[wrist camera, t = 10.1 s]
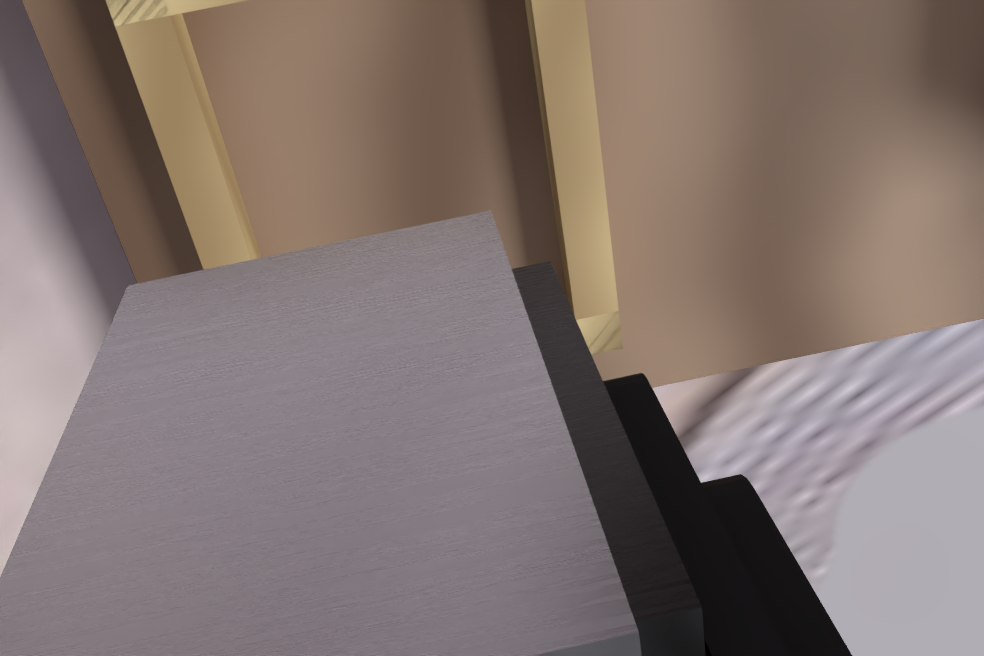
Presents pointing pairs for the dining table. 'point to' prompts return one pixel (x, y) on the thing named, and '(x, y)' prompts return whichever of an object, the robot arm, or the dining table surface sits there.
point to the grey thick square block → (348, 471)
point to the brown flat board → (562, 152)
